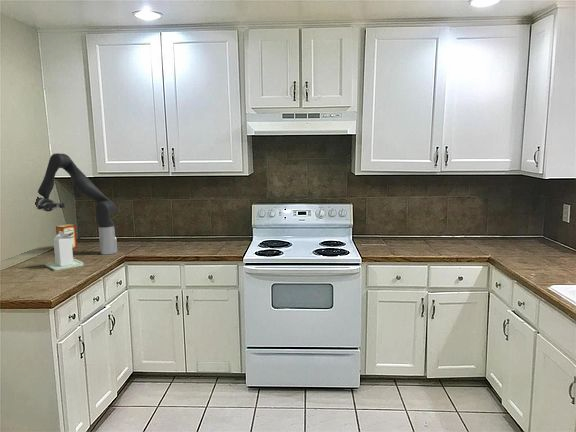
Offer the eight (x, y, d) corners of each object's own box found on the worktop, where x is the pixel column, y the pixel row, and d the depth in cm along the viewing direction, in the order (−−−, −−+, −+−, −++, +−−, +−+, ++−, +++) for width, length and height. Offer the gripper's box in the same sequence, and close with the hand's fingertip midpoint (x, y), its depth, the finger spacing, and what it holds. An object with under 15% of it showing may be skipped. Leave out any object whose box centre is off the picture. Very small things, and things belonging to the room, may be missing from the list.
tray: (74, 260, 265) (74, 258, 265) (84, 265, 254) (84, 263, 254) (45, 265, 254) (45, 263, 254) (54, 270, 243) (53, 268, 243)
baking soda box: (64, 250, 293) (61, 226, 291) (57, 249, 296) (55, 225, 294) (76, 247, 301) (75, 224, 299) (70, 246, 304) (68, 223, 302)
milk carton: (68, 262, 259) (65, 230, 256) (73, 264, 254) (70, 231, 252) (55, 264, 254) (52, 231, 251) (60, 266, 249) (57, 233, 246)
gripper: (32, 199, 269) (40, 201, 258) (58, 197, 279) (66, 199, 267) (34, 212, 270) (41, 214, 259) (59, 209, 280) (67, 212, 268)
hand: (54, 207), depth 263 cm, fingers open, 8 cm apart
